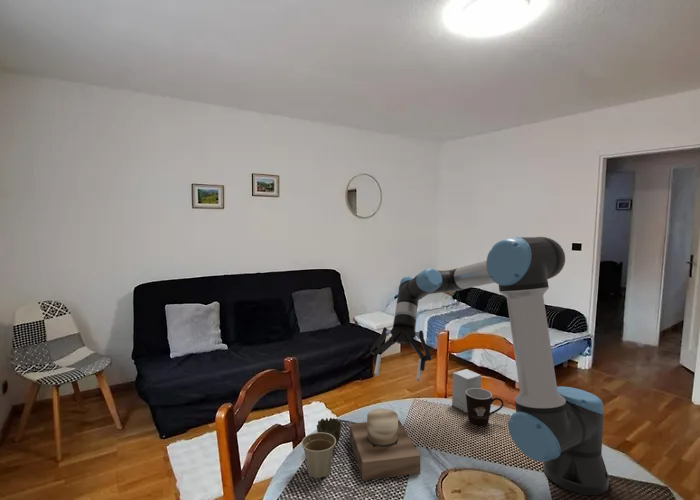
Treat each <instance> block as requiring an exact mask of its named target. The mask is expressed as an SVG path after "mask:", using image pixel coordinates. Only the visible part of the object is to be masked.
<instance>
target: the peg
mask: <svg viewBox="0 0 700 500" xmlns="http://www.w3.org/2000/svg"><path fill="white" fill-rule="evenodd" d="M366 418H367V419H366V420H367V421H366V422H367V439H368V441H369V443H371V444H372V445H373V447H377V446H378V447H390V446H393V445H395V444H396V443H397V441H398V419H399V416H398V413H397V412H396V411H394V410H392V409H390V408H389V409H388V408H375V409H371V410H370V411H369V412H367V415H366Z"/></svg>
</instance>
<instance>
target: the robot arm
mask: <svg viewBox="0 0 700 500" xmlns="http://www.w3.org/2000/svg"><path fill="white" fill-rule="evenodd" d="M491 247H492V248H491V249H490V250H489V251H488V253H487V257H486V260H483V261H479V262H477V263H476V262H475V263H472V264H469V265H464V266H462V267H456V268H453V269H448V270H442V271H441V270H440V271H439V270H437V269H434V268H432V267H430V268H425V269H424V270H422V271H421V272H419V273H418V274H417V275H416V276H415V277H414V276H407V277H406V276H405V277H402V278H401V279H400V283H399V286H398V292H397V298H396V299H397V300H396V305H395V306H396V307H395V310H394V312H395V313H394V319H393V325H392V329H388V328H387V327H383V329H382V332H381V333H380V335H379V337H378V338H377V339H376V340H375V342H374V343H373V345H372V346H371V347H370V348H369V351H370V354H371V355H373V363H372V364H373V365H374V367H375V368H374V372H373V373H374V376H375V377H379V375H380V374H379V373H380V367H381V360H382V356H381V355H383V353H385V352H386V351H387V350H388V349H390V347H391V346H393V345H395V344H396V343H397V344H398V345H399V344H404V345H408V344H409V345H410V346H411V347H412V349H413V350H414V352H415V353H416V354H417V356H418V357H419V358H418V361H417V369H416V370H417V371H416V381H417V382H421V375H422V372H425V368H426V361H432V356H431V352H430V350H429V348H428V345H427V343H426V340H425V339H424V338H425V337H424V335H425V334H424V331H423V330H419V331H416V330H415V329H416V322H417V320H416V319H417V315H418V307H419V301H420V300H421V299H423V298H425V297H426V296H428V295H433V294H441V293H448V292H457V291H463V290H465V289H469V288H473V287H474V288H475V287H481V286H484V285H490V284H497V285H498V290H499V291H498V292H499V293H500V294H501V295H502V296H504V297H505V298H506V303H507V311H508V316H509V323H510V324H509V325H510V331H511V338H512V345H513V352H514V359H515V366H516V373H517V380H518V387H519V388H518V389H519V393H518V394H517V395H516V396H514V405H515V412H514V413H512V415H511V416H510V418H509V419H508V422H507V423H508V424H507V425H508V432H509V435H510V438H511V440H512V442H513V443H514V444H515V446H516V447H517V448H518V449H519V450H520V452H521V453H522V454H523V455H525V456H526V457H528V458H529V459H531V460H533V461H535V462H536V461H537V462H542V465H543V466H542V469H543V472H544V475H545V476H546V477H547V478H548V479H549V480H550V481H551V482H552V483H554V484H556V485H557V486H559V487H560V488H562V489H564V490H567V491H569V492H572V493H576V494H579V495H584V496H598V495H602V494H604V493H606V492H607V491H608V490H609V485H610V484H609V482H610V477H609V473H608V471H607V467H606V464H605V461H604V458H603V455H602V454H603V453H602V450H603V432H604V431H603V430H604V429H603V427H604V415H605V412H604V403H603V401H602V399H601V398H599V396H597V395H595V394H594V393H591V392H588V391H586V390H583V389H579V388H575V387H571V386H562V385H560V386H558V385H557V379H556V372H555V365H554V360H553V359H554V358H553V353H552V347H551V339H550V333H549V332H550V331H549V325H548V319H547V312H546V306H545V304H546V303H545V299H544V295H545V293H546V292H547V291H548V290H549V279H552V278H554V277H557V275H559V273H561V272H562V270H563V269H564V267H565V263H566V255H565V251H564V249H563V248H562V246H561V245H560V244H559V243H558V242H557V241H555V240H554V239H552V238H550V237H547V236H535V237H534V236H531V237H530V236H529V237H527V236H526V237H524V236H523V237H517V236H516V237H511V238H509V237H508V238H504V239H501V240H499V241H497V242H496V243H495V244H494V245H493V246H491ZM390 334H391V336H390ZM388 336H390V337H389V338H388V339H387V340H386V338H387V337H388ZM415 337H416V338H417V339H418V340H419V341H420V343H421V345H422V348H423V351H424V353H425V354H424V353H423V352H422V350H421V349H420V348H419V346H418V345H417V343H416V342H415V341H414V338H415ZM384 341H385V342H384Z"/></svg>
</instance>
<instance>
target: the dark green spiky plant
mask: <svg viewBox="0 0 700 500" xmlns="http://www.w3.org/2000/svg"><path fill="white" fill-rule="evenodd" d="M341 421H342V420H339V419H338V418H337V419H335V418H334V417H333V418H332V417H330V418H329V419H328V417H326V418H325V419H324V418H321V419H320V420H318V421H317V424H316V431H317V432H316V433H318V432H322V433H329V434H331V435H333V436H334V437H335V439H336V444H335V446H334V449H333V451H334V450H335V449H336V446H337V444H338V443H339V442H340V438H341V431H342V422H341Z"/></svg>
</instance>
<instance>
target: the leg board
mask: <svg viewBox="0 0 700 500" xmlns="http://www.w3.org/2000/svg"><path fill="white" fill-rule="evenodd" d="M349 441H350V445H351V447H352V450H353V451H352V452H354V456H355V460H356V463H357V466H358V469H359V472H360V476H361V479H362V481H368V480H377V479H385V478H393V477H400V476H401V477H402V476H408V475H418V474H421V454H420V453H419V452H420V451H418V449H417V447H416V446H415V444H414V443H413V441H412V439H411V437H410V435H409V434H408V432H407V431H406V429H405V427H404V426H403V424H402V422H401V421H400V419H399V418H398V441H397V443H396V444H395V445H393V446H390V447H378V446H377V447H373V445H372V444H371V443H369V441H368V439H367V421H366V422H356V423H349Z"/></svg>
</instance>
